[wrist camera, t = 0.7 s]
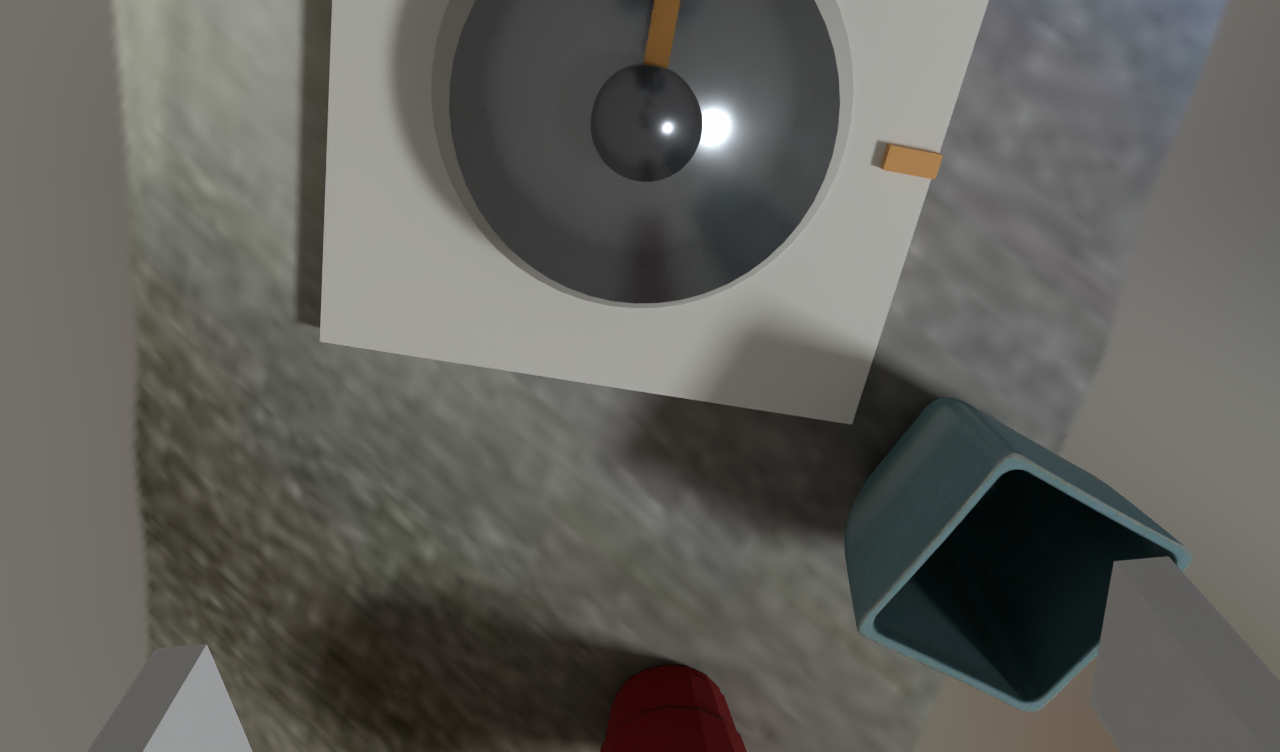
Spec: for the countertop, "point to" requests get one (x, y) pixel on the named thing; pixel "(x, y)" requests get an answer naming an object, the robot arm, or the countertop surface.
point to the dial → (644, 135)
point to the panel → (617, 331)
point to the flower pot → (990, 555)
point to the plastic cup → (671, 714)
